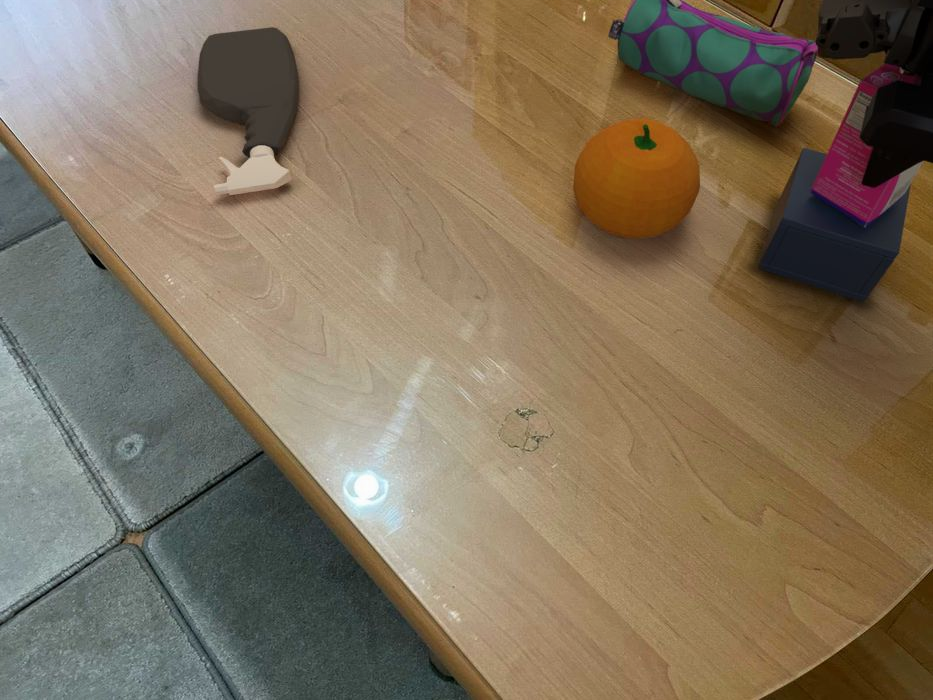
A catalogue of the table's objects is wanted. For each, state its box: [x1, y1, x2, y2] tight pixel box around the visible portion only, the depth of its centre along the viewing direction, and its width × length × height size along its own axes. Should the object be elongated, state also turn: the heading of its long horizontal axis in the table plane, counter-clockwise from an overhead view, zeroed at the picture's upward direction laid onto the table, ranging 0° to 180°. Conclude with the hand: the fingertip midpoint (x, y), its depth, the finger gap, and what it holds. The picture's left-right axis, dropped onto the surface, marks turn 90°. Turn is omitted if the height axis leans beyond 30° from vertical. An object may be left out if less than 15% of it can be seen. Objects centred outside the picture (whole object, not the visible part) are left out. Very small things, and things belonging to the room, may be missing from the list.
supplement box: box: [810, 63, 924, 227], centre depth 60 cm, size 6×6×12 cm
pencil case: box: [607, 0, 818, 127], centre depth 80 cm, size 21×9×10 cm, turn 54°
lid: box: [780, 147, 912, 260], centre depth 66 cm, size 10×10×1 cm
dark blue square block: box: [757, 158, 896, 303], centre depth 68 cm, size 10×10×6 cm
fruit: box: [572, 118, 701, 239], centre depth 70 cm, size 12×12×10 cm
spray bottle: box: [197, 26, 300, 196], centre depth 80 cm, size 3×11×24 cm
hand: (874, 156), depth 61 cm, fingers closed on supplement box, 7 cm apart
